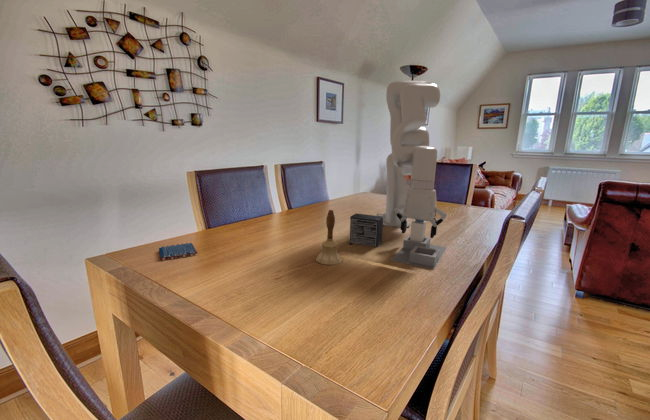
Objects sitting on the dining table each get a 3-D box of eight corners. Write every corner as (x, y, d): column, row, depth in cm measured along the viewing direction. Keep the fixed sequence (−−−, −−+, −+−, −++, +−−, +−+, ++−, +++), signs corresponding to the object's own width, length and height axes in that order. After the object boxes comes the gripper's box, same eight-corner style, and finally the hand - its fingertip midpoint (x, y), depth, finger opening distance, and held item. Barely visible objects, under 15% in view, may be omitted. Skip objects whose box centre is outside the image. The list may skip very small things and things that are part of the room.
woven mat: (198, 256, 100) (197, 250, 99) (160, 263, 94) (160, 256, 94) (193, 247, 108) (192, 241, 108) (158, 252, 103) (158, 246, 103)
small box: (382, 244, 114) (384, 215, 111) (377, 249, 108) (379, 220, 106) (354, 239, 118) (356, 212, 116) (348, 244, 112) (349, 216, 110)
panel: (390, 262, 97) (390, 250, 96) (409, 242, 115) (409, 233, 115) (433, 272, 90) (435, 259, 90) (446, 249, 109) (447, 239, 108)
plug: (409, 247, 108) (411, 220, 106) (412, 244, 111) (414, 217, 109) (421, 249, 106) (423, 221, 104) (423, 246, 109) (426, 219, 107)
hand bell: (345, 257, 101) (347, 208, 97) (337, 266, 93) (339, 214, 89) (321, 253, 103) (321, 206, 100) (311, 262, 96) (312, 211, 92)
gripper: (393, 184, 105) (389, 233, 109) (447, 189, 96) (442, 242, 100) (399, 181, 111) (396, 228, 115) (451, 186, 103) (446, 236, 107)
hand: (417, 234), depth 108 cm, fingers open, 9 cm apart
